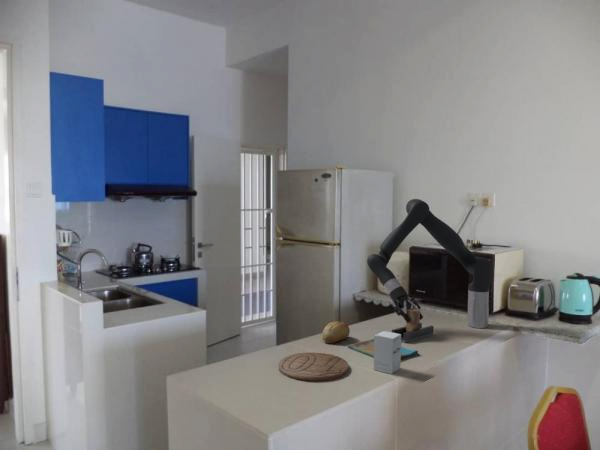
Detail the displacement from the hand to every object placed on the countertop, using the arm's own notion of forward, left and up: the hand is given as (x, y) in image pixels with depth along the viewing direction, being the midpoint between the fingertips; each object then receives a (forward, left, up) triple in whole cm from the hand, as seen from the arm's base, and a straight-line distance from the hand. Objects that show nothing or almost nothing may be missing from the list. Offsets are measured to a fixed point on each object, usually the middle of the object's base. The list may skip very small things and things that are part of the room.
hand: (415, 320), depth 206 cm
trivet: (+60, +1, -8) cm, 61 cm away
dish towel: (+26, +4, -8) cm, 28 cm away
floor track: (0, -1, -8) cm, 8 cm away
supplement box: (+40, +18, -8) cm, 44 cm away
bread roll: (+30, -19, -8) cm, 36 cm away
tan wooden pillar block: (0, -1, -7) cm, 7 cm away
